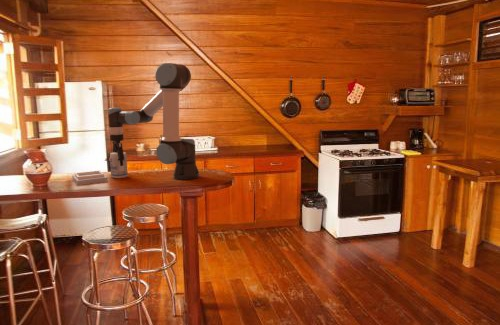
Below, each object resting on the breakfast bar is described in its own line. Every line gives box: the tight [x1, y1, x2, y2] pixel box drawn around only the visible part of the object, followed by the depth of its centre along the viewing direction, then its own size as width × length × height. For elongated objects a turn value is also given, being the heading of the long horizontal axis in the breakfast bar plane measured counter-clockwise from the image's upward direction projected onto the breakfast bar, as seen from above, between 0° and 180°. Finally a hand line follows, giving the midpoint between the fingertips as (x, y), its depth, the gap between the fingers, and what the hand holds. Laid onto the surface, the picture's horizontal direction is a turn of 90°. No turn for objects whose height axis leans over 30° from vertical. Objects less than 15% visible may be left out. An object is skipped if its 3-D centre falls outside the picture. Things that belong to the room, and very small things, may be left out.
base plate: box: [71, 170, 108, 186], centre depth 227 cm, size 20×16×4 cm
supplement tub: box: [109, 151, 129, 179], centre depth 235 cm, size 10×10×15 cm
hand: (119, 169), depth 235 cm, fingers open, 12 cm apart
